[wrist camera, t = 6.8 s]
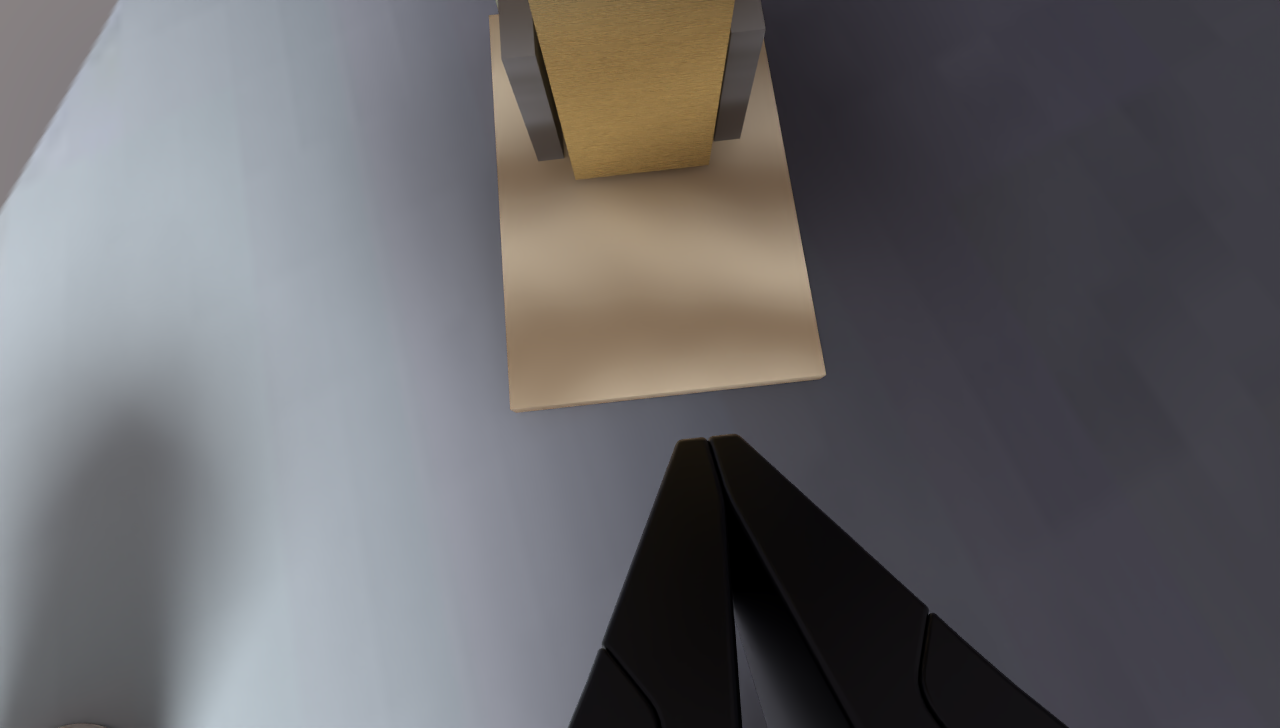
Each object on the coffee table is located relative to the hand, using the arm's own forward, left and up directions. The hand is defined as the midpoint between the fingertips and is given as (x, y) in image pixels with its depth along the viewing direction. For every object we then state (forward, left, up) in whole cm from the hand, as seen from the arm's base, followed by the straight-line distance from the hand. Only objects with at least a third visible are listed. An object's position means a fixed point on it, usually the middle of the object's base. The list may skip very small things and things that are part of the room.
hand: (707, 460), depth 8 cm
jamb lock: (+8, -8, -12) cm, 16 cm away
